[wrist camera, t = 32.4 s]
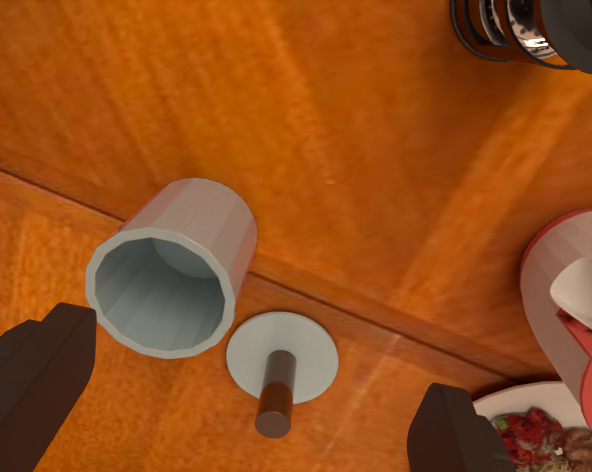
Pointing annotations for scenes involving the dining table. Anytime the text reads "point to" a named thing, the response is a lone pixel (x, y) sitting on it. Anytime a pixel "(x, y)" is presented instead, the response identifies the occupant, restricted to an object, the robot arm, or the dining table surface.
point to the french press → (529, 31)
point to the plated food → (540, 427)
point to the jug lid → (281, 365)
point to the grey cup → (174, 270)
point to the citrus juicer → (563, 300)
